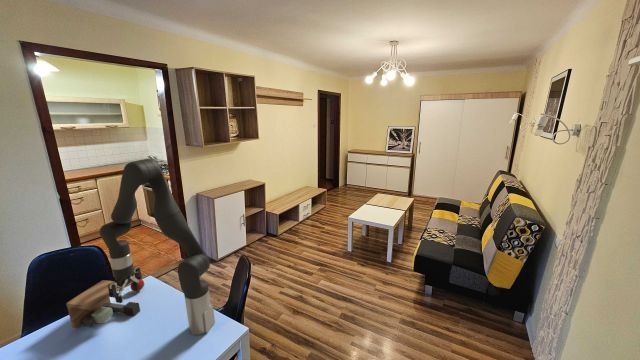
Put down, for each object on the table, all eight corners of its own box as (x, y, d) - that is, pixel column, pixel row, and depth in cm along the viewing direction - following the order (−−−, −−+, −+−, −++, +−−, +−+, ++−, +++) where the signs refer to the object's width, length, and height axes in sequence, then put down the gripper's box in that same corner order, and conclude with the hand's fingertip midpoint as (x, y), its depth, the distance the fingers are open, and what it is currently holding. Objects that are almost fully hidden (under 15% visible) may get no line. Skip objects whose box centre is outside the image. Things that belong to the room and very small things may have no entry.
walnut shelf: (129, 305, 126) (124, 282, 123) (96, 332, 110) (90, 306, 107) (108, 302, 128) (102, 280, 125) (73, 328, 112) (66, 303, 109)
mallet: (140, 311, 122) (138, 302, 121) (117, 330, 111) (115, 322, 110) (108, 306, 125) (106, 298, 124) (82, 325, 114) (80, 317, 113)
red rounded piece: (132, 296, 132) (129, 282, 130) (131, 290, 136) (128, 277, 134) (146, 291, 136) (143, 277, 134) (144, 286, 140) (141, 272, 138)
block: (113, 315, 120) (111, 307, 119) (103, 323, 115) (101, 316, 114) (104, 314, 121) (102, 306, 120) (93, 322, 116) (91, 314, 115)
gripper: (114, 274, 107) (121, 308, 111) (143, 256, 121) (148, 287, 125) (99, 272, 109) (106, 306, 113) (128, 254, 122) (134, 285, 126)
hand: (128, 296), depth 119 cm, fingers open, 8 cm apart
